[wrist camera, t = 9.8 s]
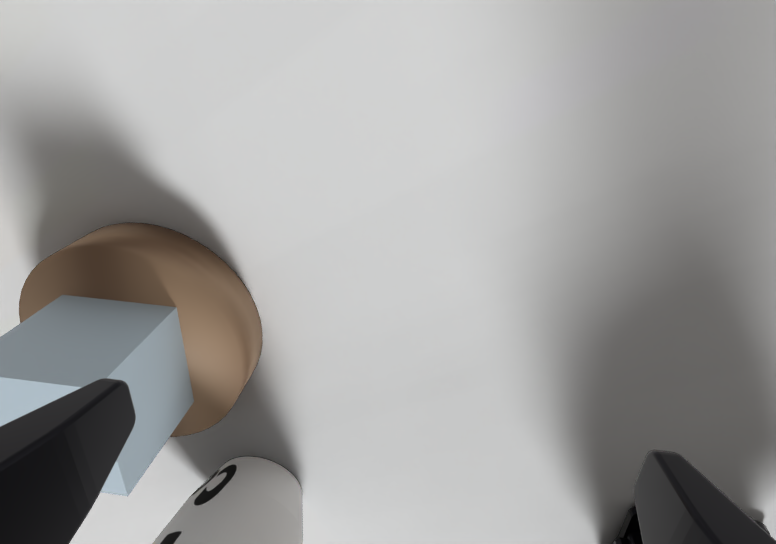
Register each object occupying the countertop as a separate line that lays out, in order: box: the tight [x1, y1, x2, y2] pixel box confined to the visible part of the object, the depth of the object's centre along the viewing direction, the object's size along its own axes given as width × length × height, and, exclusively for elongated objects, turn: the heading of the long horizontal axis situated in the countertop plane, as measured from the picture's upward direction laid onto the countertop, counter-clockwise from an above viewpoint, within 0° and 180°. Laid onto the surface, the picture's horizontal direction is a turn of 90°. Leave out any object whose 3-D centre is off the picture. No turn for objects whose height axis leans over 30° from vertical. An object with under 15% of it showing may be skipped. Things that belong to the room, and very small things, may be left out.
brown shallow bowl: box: [19, 223, 262, 437], centre depth 22 cm, size 10×10×2 cm
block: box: [0, 295, 194, 496], centre depth 19 cm, size 5×5×5 cm
